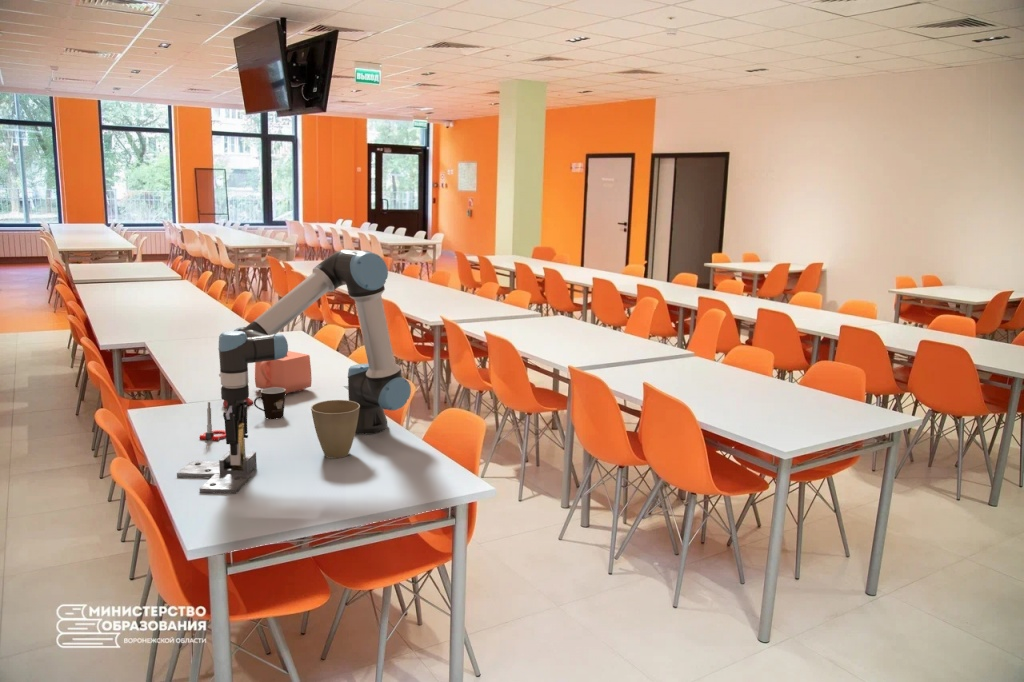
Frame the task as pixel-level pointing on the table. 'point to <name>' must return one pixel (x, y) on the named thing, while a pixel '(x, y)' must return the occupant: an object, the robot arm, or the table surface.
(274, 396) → the coffee mug
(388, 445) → the table surface
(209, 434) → the tow hook
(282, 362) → the teapot
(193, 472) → the hinge leaves
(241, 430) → the brass hinge pin
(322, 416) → the plant pot
